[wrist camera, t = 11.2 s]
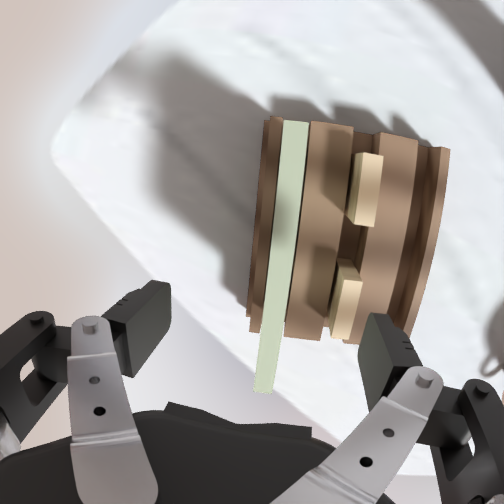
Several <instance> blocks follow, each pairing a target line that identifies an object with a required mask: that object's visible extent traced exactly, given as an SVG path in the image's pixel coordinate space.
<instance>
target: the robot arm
mask: <svg viewBox="0 0 504 504" xmlns="http://www.w3.org/2000/svg"><path fill="white" fill-rule="evenodd" d="M170 324H171V286H170V284H169V283H167V282H161V281H156V280H151V281H149V282H148V283H147V284H146V285H145V286H144V287H143V288H141V289H137V290H134V291H132V292H129V293H128V294H126V296H124V297H123V298H122V300H119V301H118V302H117V303H116V304H115V305H113V306H112V307H111V308H110V309H109V310H108V311H106V312H105V313H104V314H103V315H102V316H101V317H99V316H86V317H82V318H80V319H78V320H76V321H75V322H74V323H73V324H72V327H64V326H56V325H55V321H54V316H53V315H52V314H51V313H49V312H46V311H36V312H32V313H29V314H27V315H25V316H24V317H23V318H21V319H20V320H19V321H17V322H16V323H15V324H14V325H12V326H11V327H10V328H8V329H7V330H6V331H4V332H3V333H2V334H1V335H0V504H395V503H394V502H393V501H392V500H391V499H390V498H389V497H388V496H387V495H385V494H384V493H383V492H384V491H385V489H386V488H387V487H388V485H389V484H390V482H391V481H392V479H393V478H394V476H395V475H396V473H397V472H398V470H399V469H400V467H401V466H402V464H403V463H404V461H405V459H406V458H407V456H408V455H409V453H410V451H411V450H412V448H413V446H414V445H415V443H420V444H425V445H430V449H431V453H432V457H433V462H434V466H435V471H436V475H437V480H438V485H439V490H440V496H441V501H442V504H504V405H503V403H502V401H501V400H500V398H499V396H498V394H497V392H496V391H495V389H494V388H493V387H492V386H491V385H490V384H489V383H487V382H485V381H483V380H480V379H470V380H468V381H467V382H466V383H465V385H464V386H463V388H462V390H459V389H454V388H450V387H446V386H443V379H442V378H441V376H440V375H439V374H438V373H437V372H435V371H434V370H432V369H430V368H427V367H423V365H422V363H421V361H420V359H419V357H418V355H417V353H416V351H415V350H414V347H413V345H412V343H411V341H410V339H409V337H408V335H407V334H406V333H405V332H404V331H403V330H401V329H400V328H399V327H395V326H394V324H393V322H392V320H391V318H390V316H389V314H382V313H372V312H371V313H370V314H369V316H368V318H367V322H366V325H365V328H364V332H363V335H362V338H361V342H360V345H359V349H358V363H359V367H360V372H361V376H362V381H363V385H364V390H365V395H366V400H367V404H368V409H369V414H368V415H367V416H366V417H365V418H364V419H363V421H362V422H361V423H360V424H359V425H358V426H357V427H356V428H355V429H354V431H353V432H352V433H351V434H350V435H349V436H348V437H347V438H346V439H345V440H344V441H343V442H342V443H341V445H340V446H338V447H337V448H335V447H333V446H332V445H330V444H328V443H326V442H323V441H321V440H318V439H316V438H312V437H311V435H312V434H311V433H312V427H306V426H296V425H288V424H279V423H267V424H235V423H232V422H230V421H227V420H225V419H222V418H220V417H218V416H215V415H213V414H210V413H208V412H206V411H204V410H201V409H197V408H192V407H188V406H184V405H180V404H176V403H172V402H168V404H167V406H166V408H165V409H164V411H162V410H150V411H142V412H137V413H133V414H132V412H131V409H130V405H129V402H128V398H127V394H126V391H125V387H124V383H123V380H122V376H121V375H125V376H128V377H131V378H134V377H135V375H136V374H137V373H138V371H139V370H140V368H141V367H142V366H143V364H144V363H145V362H146V360H147V359H148V357H149V356H150V355H151V353H152V352H153V350H154V349H155V348H156V346H157V345H158V344H159V342H160V341H161V340H162V338H163V337H164V336H165V334H166V333H167V332H168V330H169V327H170ZM30 359H32V362H33V365H34V368H35V369H34V370H33V371H32V372H31V373H30V374H29V375H28V376H27V377H26V378H25V379H24V380H23V381H22V382H21V380H20V371H21V369H22V367H23V366H24V365H25V364H26V363H27V362H28V361H29V360H30ZM67 384H68V397H69V411H70V422H71V432H72V436H69V437H66V438H63V439H60V440H56V441H53V442H50V443H47V444H44V445H40V446H37V447H33V448H30V449H26V450H22V451H20V448H21V447H20V444H21V442H22V441H23V440H24V439H25V437H26V436H27V435H28V433H29V432H30V431H31V429H32V428H33V427H34V425H35V424H36V423H37V422H38V420H39V419H40V418H41V417H42V415H43V414H44V413H45V411H46V410H47V409H48V408H49V406H50V405H51V403H53V401H54V400H55V399H56V397H57V396H58V395H59V394H60V393H61V391H62V390H63V389H64V388H65V387H66V385H67ZM471 437H472V439H473V441H474V444H475V453H474V456H473V455H472V452H471V449H470V447H469V444H468V441H469V440H470V438H471Z"/></svg>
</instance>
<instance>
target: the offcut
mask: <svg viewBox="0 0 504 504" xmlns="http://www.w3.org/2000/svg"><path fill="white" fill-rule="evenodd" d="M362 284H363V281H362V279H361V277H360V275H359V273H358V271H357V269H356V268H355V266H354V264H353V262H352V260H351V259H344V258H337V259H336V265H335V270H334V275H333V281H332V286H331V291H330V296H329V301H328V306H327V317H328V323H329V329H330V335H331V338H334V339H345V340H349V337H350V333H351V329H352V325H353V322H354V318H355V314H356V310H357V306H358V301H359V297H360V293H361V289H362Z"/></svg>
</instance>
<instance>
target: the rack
mask: <svg viewBox="0 0 504 504" xmlns="http://www.w3.org/2000/svg"><path fill="white" fill-rule="evenodd" d="M283 124H284V121H283V118H282V117H274V116H270V121H267V120H264V130H263V141H262V151H261V162H260V172H259V183H258V194H257V204H256V215H255V225H254V236H253V246H252V257H251V268H250V278H249V289H248V299H247V310H246V317H251V319H250V329H249V332H254V333H259V332H260V328H261V324H262V318H263V310H264V301H265V293H266V285H267V276H268V267H269V259H270V250H271V241H272V232H273V222H274V213H275V204H276V194H277V185H278V175H279V165H280V155H281V145H282V134H283ZM353 130H354V127H351V126H345V125H339V124H333V123H326V122H319V121H311V123H310V125H309V126H308V137H307V147H306V157H305V167H304V176H303V185H302V194H301V202H300V211H299V219H298V227H297V235H296V242H295V250H294V257H293V264H292V272H291V279H290V286H289V292H288V299H287V306H286V312H285V319H284V322H285V327H284V337H290V338H299V339H307V340H316V341H320V338H321V334H322V329H323V327H329V323H328V317H327V306H328V301H329V296H330V291H331V286H332V281H333V275H334V270H335V265H336V259H337V258H344V259H351V260H352V262H353V264H354V266H355V268H356V269H357V271H358V273H359V275H360V277H361V279H362V281H363V284H362V289H361V293H360V297H359V301H358V306H357V310H356V314H355V318H354V322H353V325H352V329H351V333H350V337H349V340H345V339H342V340H343V343H347V344H359V345H360V342H361V338H362V335H363V332H364V328H365V325H366V322H367V318H368V316H369V314H370V313H371V312H372V313H382V314H389V316H390V318H391V320H392V322H393V324H394V326H395V327H399V328H400V329H401V330H403V331H404V332H405V333H406V334H407V335H408V337H409V338H410V335H411V332H412V329H413V326H414V323H415V320H416V317H417V314H418V310H419V307H420V304H421V301H422V297H423V294H424V290H425V287H426V283H427V279H428V276H429V272H430V268H431V264H432V260H433V255H434V251H435V246H436V242H437V237H438V232H439V227H440V222H441V216H442V211H443V205H444V198H445V192H446V184H447V176H448V168H449V158H450V149H448V148H445V147H429V148H428V147H424V146H420V145H418V140H414V139H410V138H406V137H402V136H397V135H393V134H388V133H383V132H379V133H377V134H374V135H370V134H365V133H359V132H354V131H353ZM363 152H364V153H370V154H375V155H380V156H384V157H383V166H382V174H381V182H380V190H379V197H378V204H377V210H376V216H375V223H374V227H369V226H363V225H356V224H353V223H352V221H351V220H350V219H349V218H348V217H347V216H346V215H345V214H344V208H345V201H346V194H347V186H348V178H349V170H350V161H351V154H356V153H363Z"/></svg>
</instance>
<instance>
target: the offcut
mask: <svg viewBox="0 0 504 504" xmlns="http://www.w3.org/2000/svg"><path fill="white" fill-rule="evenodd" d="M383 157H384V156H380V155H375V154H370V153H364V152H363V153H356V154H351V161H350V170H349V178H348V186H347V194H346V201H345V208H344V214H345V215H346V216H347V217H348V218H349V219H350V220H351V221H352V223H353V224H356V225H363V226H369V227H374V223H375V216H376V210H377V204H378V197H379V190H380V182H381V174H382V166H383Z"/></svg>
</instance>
